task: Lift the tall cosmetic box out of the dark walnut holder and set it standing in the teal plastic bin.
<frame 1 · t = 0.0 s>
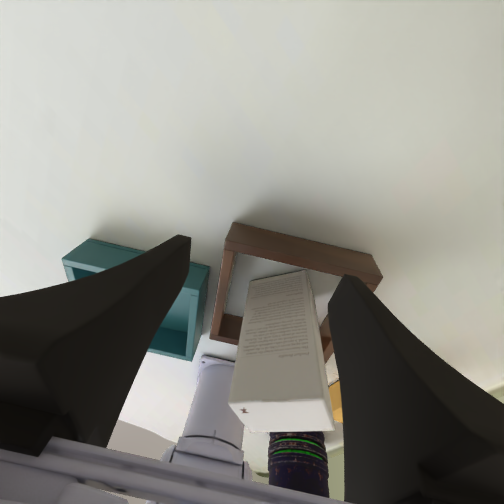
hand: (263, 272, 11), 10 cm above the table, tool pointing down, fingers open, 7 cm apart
bin: (151, 293, 28), on the table
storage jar: (296, 432, 43), on the table
rubber stamp: (362, 380, 32), on the table
holder: (283, 289, 25), on the table
cosmetic box: (283, 288, 25), resting in holder
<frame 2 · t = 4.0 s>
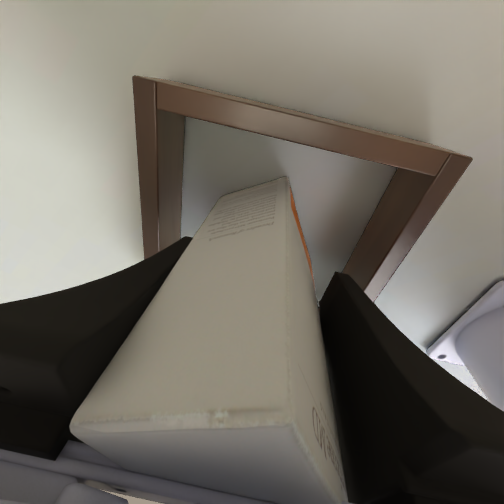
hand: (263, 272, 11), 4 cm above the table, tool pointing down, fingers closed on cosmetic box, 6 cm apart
holder: (268, 228, 15), on the table
cosmetic box: (268, 227, 15), resting in holder, touching gripper
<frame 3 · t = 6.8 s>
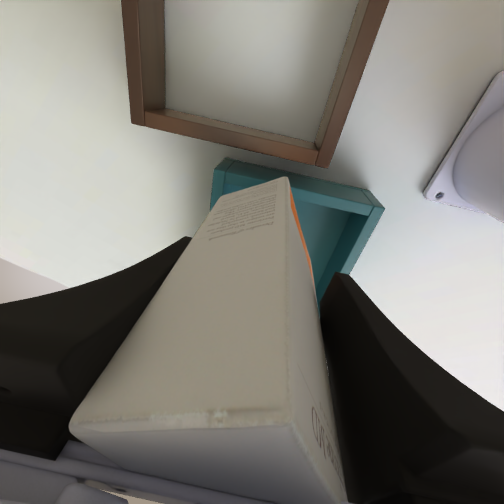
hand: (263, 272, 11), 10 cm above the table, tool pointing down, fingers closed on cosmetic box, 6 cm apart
bin: (277, 241, 22), on the table
holder: (254, 23, 14), on the table
cosmetic box: (268, 227, 15), point 6 cm above the table, touching gripper
when the fingers open (8 cm above the table, at t = 12.2 s): cosmetic box stays where it is, resting on bin.
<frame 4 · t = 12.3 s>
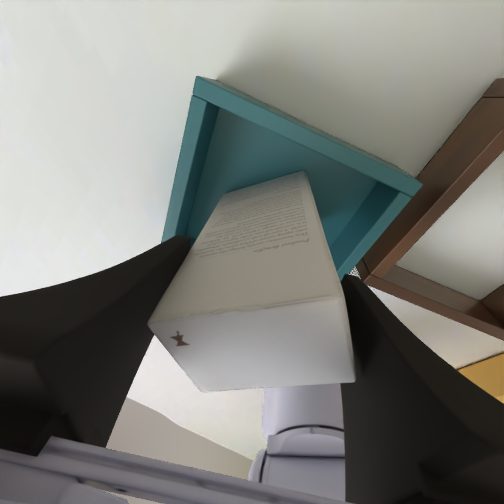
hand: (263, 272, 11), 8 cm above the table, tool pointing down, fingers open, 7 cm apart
bin: (271, 205, 18), on the table
rubber stamp: (489, 371, 25), on the table
holder: (485, 223, 17), on the table
cosmetic box: (271, 207, 18), resting on bin
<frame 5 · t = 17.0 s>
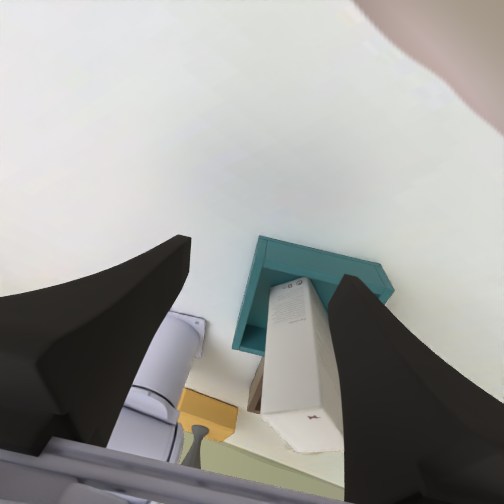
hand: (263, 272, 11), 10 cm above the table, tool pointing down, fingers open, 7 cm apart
bin: (299, 297, 26), on the table
rubber stamp: (206, 402, 42), on the table
holder: (302, 376, 34), on the table
cosmetic box: (299, 299, 25), resting on bin
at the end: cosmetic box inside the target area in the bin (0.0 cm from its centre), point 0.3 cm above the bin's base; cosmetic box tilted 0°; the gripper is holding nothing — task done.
